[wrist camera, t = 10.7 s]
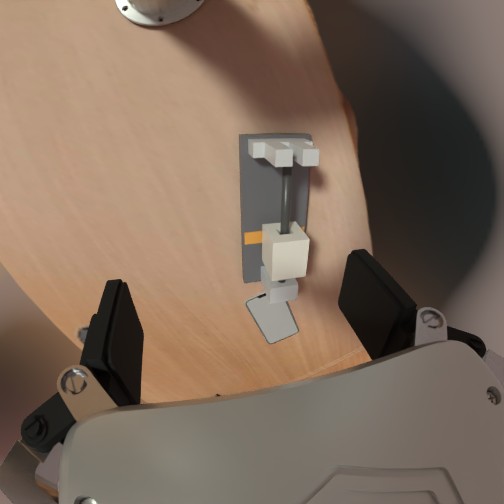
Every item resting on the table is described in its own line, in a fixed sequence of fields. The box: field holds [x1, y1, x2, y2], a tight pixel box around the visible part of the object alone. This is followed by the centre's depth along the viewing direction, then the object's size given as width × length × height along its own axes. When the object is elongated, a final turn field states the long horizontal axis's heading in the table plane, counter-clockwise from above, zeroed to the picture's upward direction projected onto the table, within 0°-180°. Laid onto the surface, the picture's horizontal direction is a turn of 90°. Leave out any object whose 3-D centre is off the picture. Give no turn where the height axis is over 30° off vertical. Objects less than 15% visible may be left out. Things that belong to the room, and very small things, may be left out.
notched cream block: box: [262, 221, 310, 281], centre depth 40 cm, size 6×5×6 cm
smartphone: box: [245, 292, 299, 344], centre depth 56 cm, size 7×1×15 cm
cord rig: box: [239, 133, 319, 304], centre depth 40 cm, size 24×10×10 cm, turn 1°
